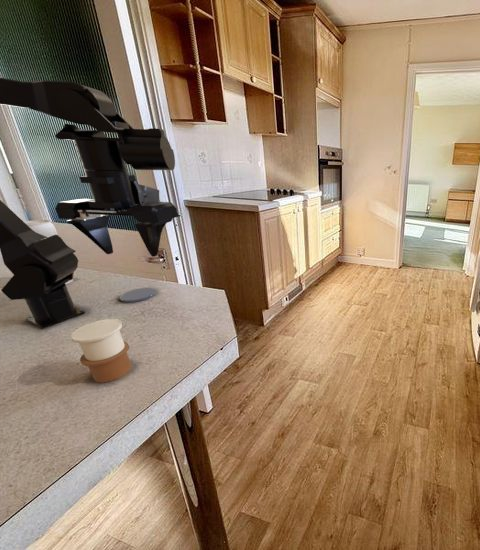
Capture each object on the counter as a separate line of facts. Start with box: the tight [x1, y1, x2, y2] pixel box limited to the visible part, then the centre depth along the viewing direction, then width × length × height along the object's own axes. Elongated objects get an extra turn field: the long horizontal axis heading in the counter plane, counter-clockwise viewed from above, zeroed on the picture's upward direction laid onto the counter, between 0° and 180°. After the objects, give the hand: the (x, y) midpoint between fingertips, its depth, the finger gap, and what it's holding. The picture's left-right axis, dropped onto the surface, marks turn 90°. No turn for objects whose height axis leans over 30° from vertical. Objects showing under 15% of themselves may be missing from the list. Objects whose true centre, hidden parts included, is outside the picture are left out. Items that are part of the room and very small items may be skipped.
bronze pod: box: [79, 340, 133, 384], centre depth 43 cm, size 5×5×4 cm
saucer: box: [119, 287, 156, 303], centre depth 66 cm, size 6×6×1 cm
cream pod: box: [70, 318, 125, 361], centre depth 41 cm, size 5×5×4 cm
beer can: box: [23, 219, 75, 285], centre depth 68 cm, size 6×6×15 cm
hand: (132, 254), depth 56 cm, fingers open, 9 cm apart
